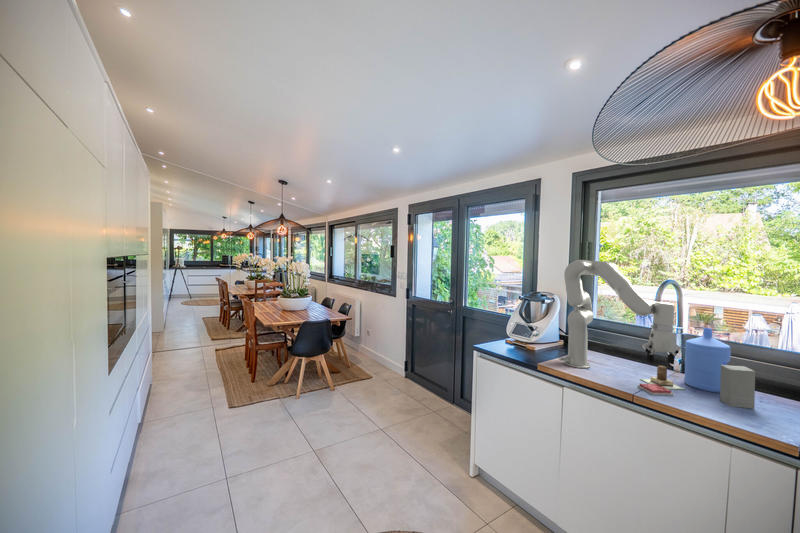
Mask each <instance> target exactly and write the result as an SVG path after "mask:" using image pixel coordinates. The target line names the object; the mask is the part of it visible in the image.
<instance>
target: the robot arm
mask: <svg viewBox="0 0 800 533" xmlns="http://www.w3.org/2000/svg"><path fill="white" fill-rule="evenodd" d="M583 275H584V276H595V277H597V276H598V277H599V278H600V279H602V280H603V281H604V282H605V283H606V285H608V286H609V287H610V288H611V289H612V290H613V291H614V292H615V294H616V295H617V297H618V298H619V299H620V300H621V301H622V302H623V304H625V305H626V307H627V308H629V310H630V311H632V313H634V314H636V315H637V316H639V317H645V316H648V315H650V316H651V315H653V320H652V324H651V325H650V328H652V329H650V330H651V331H650V334H649V337H648V342H645V343H643V344H642V345H641V346H642V348H643V351H644V352H645V353H646V362H648V363H649V364H653V363H654V358H655V357H654V354H655V353H656V352H657V353H668V354H667V360H666V362H667V363H668V364H669V365H674V364H675V357H676V356H677V355H678V354H679V352H680V350H681V346H680V345H678V344H677V338H676V333H675V331H674V320H675V304H674V303H671V302H666V301H655V300H650V299H644V298H643V297H642V296H640V295H639V293H637V291H636V290H635V288H633V286H632V283H631V281H630V280H629V279H628V278H627V277H626V276H625V275H624V274H623V273H622V272H620V271H619V269H618V266H617V265H616V264H615V263H614V262H612V261H607V260H606V261H605V260H603V261H599V260H586V259H576V260H574V261H572V262H570V263H569V264H568V265H567V266H566V268H565V270H564V275H563V277H564V284H565V291H566V292H565V293H566V300H567V303H568V305H570V306H571V307H573V308H574V309H573V310H572V311H570V312H569V314H568V316H567V324H568V325H567V326H568V335H567V336H568V338H567V339H568V340H567V341H568V344H567V355H565V356H559V358H558V360H559V361H563V362H564V364H565V365H567V366H569V367H573V368H577V369H589V368H591V364H590V363H589V362H588V341H589V340H588V338H589V335H588V325H589V324H591V323H592V322H593V320H594V313H593V305H592V299H591V296H590V294H589V293H588V292H587V291H585V290H584V287H583V281H582V278H581V276H583Z"/></svg>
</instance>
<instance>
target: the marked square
mask: <svg viewBox="0 0 800 533" xmlns="http://www.w3.org/2000/svg"><path fill="white" fill-rule="evenodd" d="M639 381H642V382H643V383H645V384H655V383H653V382H651V378H639ZM662 387H664V388H666V389H668V390H670V391H672V389H673V390H676V391H678V390H679V391H685V390H686V389H685V388H684V387H681V386H679V385H677V384H674V383H673V386H662Z"/></svg>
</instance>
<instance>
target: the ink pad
mask: <svg viewBox="0 0 800 533" xmlns="http://www.w3.org/2000/svg"><path fill="white" fill-rule="evenodd" d="M637 388H638V389H640V390H643V391H644V392H645V393H648V394H650V395H651V396H666V397H668V396H671V397H673V396H674V392H672V390H671V389H666V388H664V387H662V386H660V385H658V384H648V383H639V384H638V385H637ZM667 395H668V396H667Z"/></svg>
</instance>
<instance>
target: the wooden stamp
mask: <svg viewBox="0 0 800 533" xmlns="http://www.w3.org/2000/svg"><path fill="white" fill-rule="evenodd" d="M667 377H668V367H666V366H665V365H657V368H656V376H650V379H651V382H653V383H655V384H658V385H660V386H673V384H674V381H672V380H670V379H668V378H667Z"/></svg>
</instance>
